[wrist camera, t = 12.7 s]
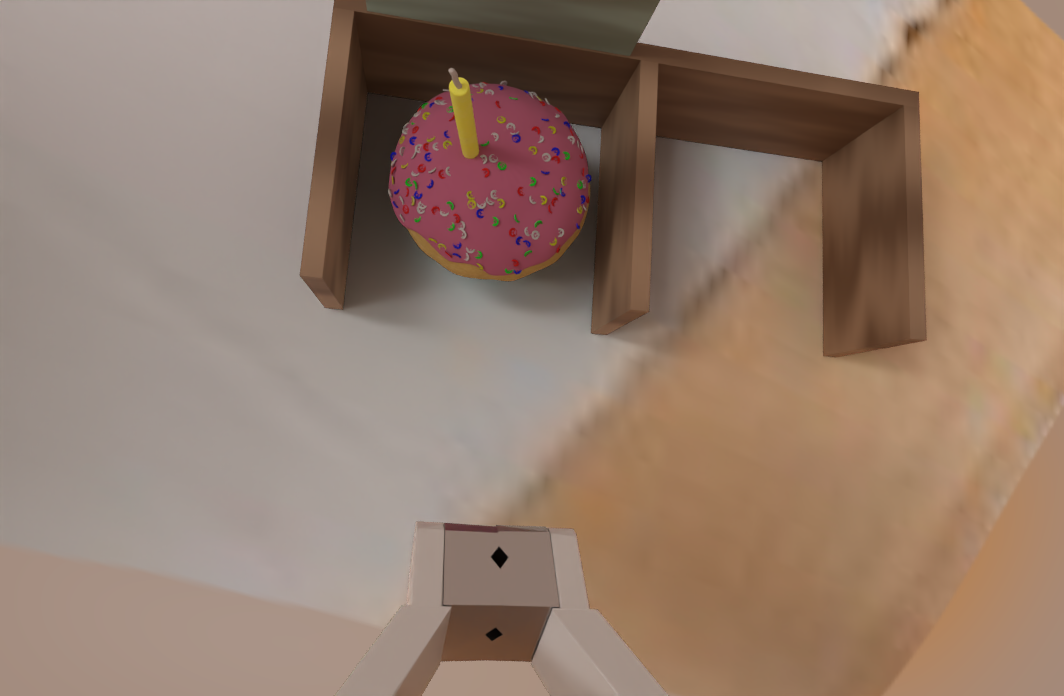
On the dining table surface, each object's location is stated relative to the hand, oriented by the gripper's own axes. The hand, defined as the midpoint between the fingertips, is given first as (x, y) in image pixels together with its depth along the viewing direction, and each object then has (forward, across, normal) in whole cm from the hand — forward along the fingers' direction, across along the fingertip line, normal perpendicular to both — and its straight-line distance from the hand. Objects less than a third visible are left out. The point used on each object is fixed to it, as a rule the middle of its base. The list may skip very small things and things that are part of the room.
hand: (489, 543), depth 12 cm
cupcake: (+21, -1, +3) cm, 22 cm away
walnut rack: (+22, -7, +3) cm, 23 cm away
